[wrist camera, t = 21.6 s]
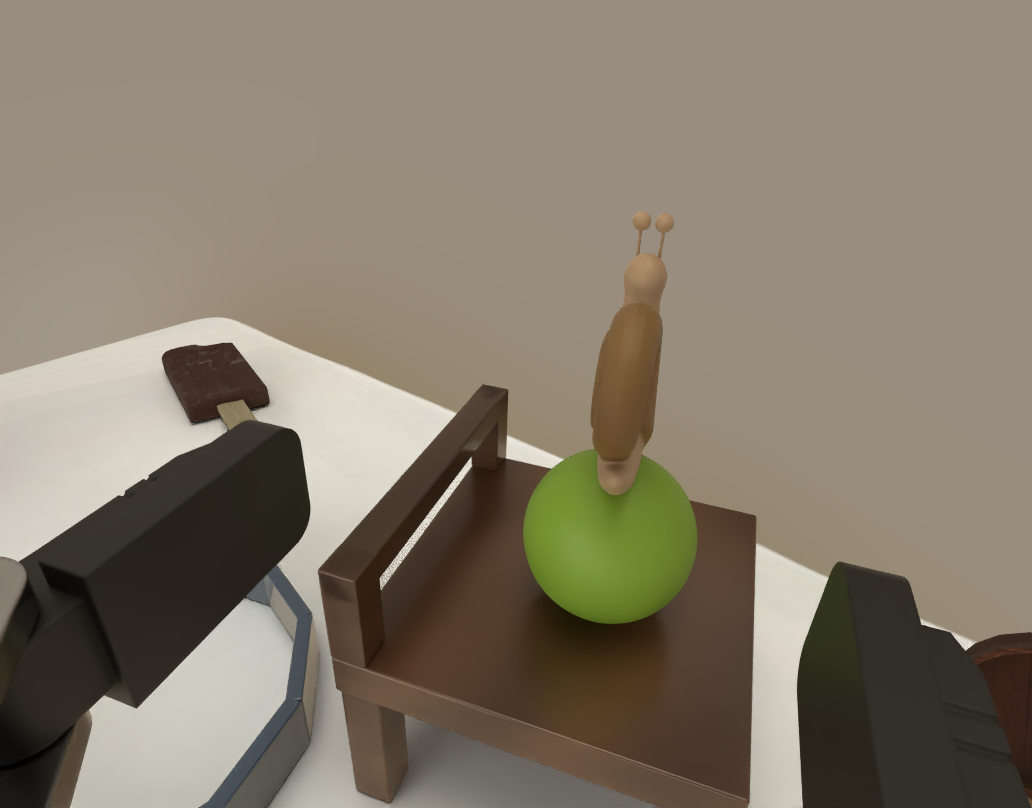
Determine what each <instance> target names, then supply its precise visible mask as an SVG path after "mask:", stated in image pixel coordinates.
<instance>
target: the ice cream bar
mask: <svg viewBox="0 0 1032 808" xmlns="http://www.w3.org/2000/svg"><path fill="white" fill-rule="evenodd" d="M162 362H163V366H164V370H165V372H166V374H167V376H168V378H169V380H170V382H171V384H172V386H173V388H174V390H175V392H176V394H177V396H178V398H179V400H180V402H181V404H182V406H183V407H184V409H185V411H186V413H187V415H188V417H189V419H190V421H191V423H195V422H199V421H203V420H207V419H211V418H215V417H219V416H221V417H222V418H223V420H224V422H225V423H226V425H227V427H228V428H229V430H230V429H232V428H233V427H235V426H236V425H238V424H239V423H241V422H243V421H246V420H255V421H257V420H256V418H255V417H254V415H253V414H252V412H251V411H250V409H251V408H255V407H259V406H263V405H267V404H269V402H270V401H269V396H268V390H267V387H266V386H265V385H264V383H263V382H262V381H261V379H260V378H259V377H258V376H257V374H256V373H255V372H254V370H253V369H252V368H251V367H250V365H249V364H248V363H247V361H246V360H245V359H244V357H243V356H242V355H241V354H240V352H239V351H238V350H237V348H236V347H235V346H234V345H233V343H220V344H215V345H208V346H198V345H189V346H184V347H179V348H175V349H171V350H169V351H166V352H165V353H164V354H163V356H162Z"/></svg>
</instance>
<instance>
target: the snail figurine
mask: <svg viewBox="0 0 1032 808" xmlns="http://www.w3.org/2000/svg"><path fill="white" fill-rule="evenodd" d="M650 224H651V217H650V215H649V214H648V213H646V212H639V213H637V214H636V215H635V216H634V218H633V225H634V227H635V228H636V229H637V230H639V236H638V244H637V252H636V257H635V258H634V259H633V260H632V261H631V262H630V263H629V264H628V266H627V268H626V271H625V275H624V287H625V298H624V303H623V307H622V308H621V309H620V310H619V311H618V312H617V313H616V315H615V316H614V319H613V321H612V324H611V327H610V330H609V331H608V332H607V333H606V335H605V337H604V340H603V343H602V347H601V350H600V355H599V360H598V365H597V371H596V378H595V383H594V390H593V397H592V406H591V426H592V428H593V445H594V448H595V449H591V450H587V451H583V452H580V453H577V454H575V455H573V456H570V457H569V458H567V459H565V460H563V461H562V462H560V463H559V464H557V465H556V466H555V467H554V468H552V469H551V470H550V471H549V472H548V473H547V474H546V475H545V476H544V477H543V479H542V480H541V481H540V483H539V484H538V485H537V487H536V489H535V490H534V492H533V494H532V496H531V498H530V501H529V503H528V506H527V510H526V513H525V518H524V526H523V540H524V548H525V553H526V557H527V561H528V564H529V566H530V569H531V571H532V573H533V575H534V577H535V579H536V580H537V582H538V583H539V585H540V586H541V588H542V589H543V590H544V591H545V593H546V594H547V595H548V596H549V597H550V598H551V599H552V600H553V601H554V602H555V603H557V604H558V605H559V606H560V607H562V608H563V609H565V610H566V611H568V612H570V613H572V614H574V615H576V616H578V617H580V618H583V619H586V620H589V621H593V622H598V623H605V624H621V623H628V622H633V621H637V620H640V619H643V618H645V617H648V616H650V615H652V614H654V613H655V612H657V611H659V610H660V609H662V608H663V607H664V606H666V605H667V604H668V603H669V602H670V601H671V600H672V599H673V598H674V597H675V596H676V595H677V594H678V593H679V591H680V590H681V589H682V587H683V586H684V584H685V583H686V581H687V579H688V577H689V575H690V573H691V570H692V568H693V565H694V561H695V557H696V552H697V525H696V520H695V516H694V512H693V509H692V506H691V504H690V501H689V499H688V497H687V496H686V494H685V492H684V490H683V489H682V487H681V486H680V484H679V483H678V482H677V481H676V479H675V478H674V477H673V476H672V475H671V474H670V473H669V472H668V471H667V470H666V469H664V468H663V467H662V466H660V465H659V464H658V463H656V462H655V461H653V460H651V459H650V458H648V457H646V456H643V455H642V451H643V449H644V447H645V445H646V444H647V442H648V441H649V439H650V438H651V435H652V432H653V427H654V416H655V404H656V394H657V384H658V372H659V363H660V354H661V343H662V332H663V331H662V330H663V327H662V319H661V317H660V315H659V309H660V308H659V307H660V300H661V295H662V293H663V290H664V288H665V284H666V280H667V272H666V268H665V265H664V263H663V262H662V260H661V253H662V247H663V241H664V234H665V233H666V232H669V231H670V230H671V229H672V228H673V226H674V219H673V217H672V216H670V215H669V214H661V215H660V216H659V217H658V218H657V219H656V222H655V225H656V228H657V230H658V231H660V232H661V233H662V235H661V242H660V248H659V253H658V257H657V256H656V255H653V254H649V253H646V254H641V255H639V253H640V243H641V235H642V231H643V230H646V229H647V228H649V226H650Z"/></svg>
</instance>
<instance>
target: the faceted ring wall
mask: <svg viewBox="0 0 1032 808" xmlns="http://www.w3.org/2000/svg"><path fill="white" fill-rule="evenodd" d="M245 598H248V599H251V600H254V601H257V602H260V603H263V604H266V605H269V606H270V607H271V608H272V610H273V611H274V613H275V614H276V616H277V617H278V619H279V620H280V622H281V623H282V625H283V626H284V628H285V629H286V631H287V632H288V634H289V635H290V637H291V638H292V640H293V641H294V645H293V652H292V659H291V666H290V673H289V679H288V686H287V693H286V700H285V701H284V702H283V704H282V705H281V706H280V708H279V709H278V710H277V712H276V713H275V714H274V716H273V717H272V718H271V719H270V721H269V722H268V723H267V725H266V726H265V727H264V729H263V730H262V731H261V733H260V734H259V735H258V737H257V738H256V739H255V741H254V742H253V743H252V745H251V746H250V747H249V749H248V750H247V751H246V752H245V754H244V755H243V756H242V758H241V759H240V760H239V762H238V763H237V764H236V766H235V767H234V768H233V770H232V771H231V772H230V774H229V775H228V776H227V778H226V779H225V780H224V781H223V783H222V784H221V785H220V787H219V788H218V789H217V791H216V792H215V793H214V795H213V796H212V797H211V799H210V800H209V801H208V802H207V803H205V804H203V805H202V806H200V807H199V808H266V807H267V806H268V805H269V803H270V802H271V800H272V799H273V797H274V796H275V794H276V793H277V791H278V790H279V788H280V787H281V785H282V784H283V782H284V781H285V779H286V778H287V776H288V775H289V773H290V772H291V770H292V769H293V767H294V766H295V764H296V763H297V761H298V760H299V758H300V757H301V756H302V754H303V753H304V751H305V750H306V748H307V747H308V745H309V741H310V740H311V732H312V722H313V712H314V702H315V692H316V682H317V672H318V662H319V651H318V645H317V639H316V633H315V627H314V621H313V616H312V612H311V611H310V609H309V608H308V607H307V605H306V604H305V603H304V601H303V600H302V598H301V597H300V596H299V594H298V593H297V592H296V590H295V589H294V587H293V586H292V585H291V583H290V582H289V581H288V579H287V578H286V576H285V575H284V574H283V572H282V571H281V570H280V568H279V567H278V565H276V566H275V567H274V568H273V569H272V570H271V571H270V572H269V573H268V574H267V575H266V576H265V577H264V578H263V579H262V580H261V581H260V582H259V583H258V584H257V585H256V586H255V587H254V588H253V589H252V591H251V592H250V593H249V594H248V595H247V596H246V597H245Z"/></svg>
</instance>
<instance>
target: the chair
mask: <svg viewBox="0 0 1032 808" xmlns="http://www.w3.org/2000/svg"><path fill="white" fill-rule="evenodd" d="M507 408H508V389H504V388H499V387H494V386H488V385H482V386H481V387H480V388H479V389H478V390H477V391H476V392H475V393H474V395H473V396H472V397H471V398H470V400H469V401H468V402H467V403H466V404H465V405H464V406H463V408H462V409H461V410H460V411H459V412H458V413H457V414H456V415H455V417H454V418H453V419H452V420H451V421H450V422H449V423H448V424H447V426H446V427H445V428H444V429H443V430H442V431H441V432H440V433H439V435H438V436H437V437H436V438H435V439H434V440H433V441H432V442H431V444H430V445H429V446H428V447H427V448H426V449H425V450H424V451H423V453H422V454H421V455H420V456H419V457H418V458H417V459H416V461H415V462H414V463H413V464H412V465H411V466H410V467H409V468H408V470H407V471H406V472H405V473H404V474H403V475H402V476H401V477H400V479H399V480H398V481H397V482H396V483H395V484H394V485H393V486H392V488H391V489H390V490H389V491H388V492H387V493H386V494H385V495H384V497H383V498H382V499H381V500H380V501H379V502H378V503H377V504H376V506H375V507H374V508H373V509H372V510H371V511H370V512H369V513H368V515H367V516H366V517H365V518H364V519H363V520H362V521H361V523H360V524H359V525H358V526H357V527H356V528H355V529H354V530H353V532H352V533H351V534H350V535H349V536H348V537H347V538H346V539H345V541H344V542H343V543H342V544H341V545H340V546H339V547H338V548H337V549H336V550H335V551H334V552H333V554H332V555H331V556H330V557H329V558H328V559H327V560H326V561H325V563H324V564H323V565H322V566H321V567H320V568H319V570H318V576H319V582H320V589H321V595H322V602H323V608H324V615H325V621H326V627H327V634H328V640H329V647H330V653H331V656H332V663H333V670H334V676H335V683H336V688H337V689H338V690H340V691H342V697H343V704H344V710H345V717H346V724H347V730H348V737H349V744H350V750H351V757H352V764H353V770H354V777H355V784H356V789H357V790H358V791H361V792H363V793H365V794H368V795H370V796H373V797H375V798H378V799H380V800H383V801H385V802H387V803H390V802H391V801H392V800H393V798H394V796H395V794H396V792H397V790H398V788H399V786H400V784H401V782H402V780H403V778H404V776H405V774H406V772H407V770H408V755H407V742H406V729H405V716H404V714H406V715H408V716H411V717H414V718H417V719H419V720H422V721H425V722H428V723H430V724H433V725H436V726H439V727H441V728H444V729H447V730H450V731H453V732H455V733H458V734H461V735H464V736H466V737H469V738H472V739H475V740H477V741H480V742H483V743H486V744H488V745H491V746H494V747H497V748H499V749H502V750H505V751H508V752H510V753H513V754H516V755H519V756H521V757H524V758H527V759H530V760H532V761H535V762H538V763H541V764H543V765H546V766H549V767H552V768H554V769H557V770H560V771H563V772H565V773H568V774H571V775H574V776H576V777H579V778H582V779H585V780H587V781H590V782H593V783H596V784H598V785H601V786H604V787H607V788H609V789H612V790H615V791H618V792H620V793H623V794H626V795H629V796H631V797H634V798H637V799H640V800H642V801H645V802H648V803H651V804H653V805H656V806H659V807H662V808H748V805H749V803H750V766H751V724H752V682H753V640H754V599H755V557H756V516H755V515H751V514H747V513H742V512H738V511H734V510H729V509H725V508H720V507H716V506H711V505H707V504H703V503H699V502H694V501H690V500H689V501H690V504H691V506H692V509H693V512H694V516H695V520H696V525H697V552H696V557H695V561H694V565H693V568H692V570H691V573H690V575H689V577H688V579H687V581H686V583H685V584H684V586H683V587H682V589H681V590H680V591H679V593H678V594H677V595H676V596H675V597H674V598H673V599H672V600H671V601H670V602H669V603H668V604H667V605H666V606H664V607H663V608H662V609H660V610H659V611H657V612H655V613H654V614H652V615H650V616H648V617H645V618H643V619H640V620H637V621H633V622H628V623H621V624H605V623H598V622H593V621H589V620H586V619H583V618H580V617H578V616H576V615H574V614H572V613H570V612H568V611H566V610H565V609H563V608H562V607H560V606H559V605H558V604H557V603H555V602H554V601H553V600H552V599H551V598H550V597H549V596H548V595H547V594H546V593H545V591H544V590H543V589H542V588H541V586H540V585H539V583H538V582H537V580H536V579H535V577H534V575H533V573H532V571H531V569H530V566H529V564H528V561H527V557H526V553H525V548H524V540H523V526H524V518H525V513H526V510H527V506H528V503H529V501H530V498H531V496H532V494H533V492H534V490H535V489H536V487H537V485H538V484H539V483H540V481H541V480H542V479H543V477H544V476H545V475H546V474H547V473H548V472H549V471H550V470H551V469H550V468H546V467H541V466H537V465H532V464H528V463H524V462H519V461H515V460H511V459H506V440H507V410H508V409H507ZM471 456H472V467H471V468H470V470H469V471H468V473H467V474H466V475H465V477H464V478H463V479H462V481H461V482H460V483H459V485H458V486H457V488H456V489H455V490H454V492H453V493H452V494H451V496H450V497H449V498H448V500H447V501H446V503H445V504H444V505H443V507H442V508H441V509H440V511H439V512H438V513H437V515H436V516H435V518H434V519H433V520H432V522H431V523H430V524H429V526H428V527H427V528H426V530H425V531H424V533H423V534H422V535H421V537H420V538H419V539H418V541H417V542H416V543H415V545H414V546H413V548H412V549H411V550H410V552H409V553H408V554H407V556H406V557H405V558H404V560H403V561H402V563H401V564H400V565H399V567H398V568H397V569H396V571H395V572H394V573H393V575H392V576H391V578H390V579H389V580H388V582H387V583H386V584H385V586H384V587H383V588H382V590H380V579H379V578H380V577H381V576H382V574H383V573H384V572H385V570H386V569H387V568H388V566H389V565H390V564H391V562H392V561H393V560H394V558H395V557H396V556H397V554H398V553H399V552H400V551H401V549H402V548H403V547H404V545H405V544H406V543H407V541H408V540H409V539H410V537H411V536H412V535H413V533H414V532H415V531H416V529H417V528H418V527H419V525H420V524H421V523H422V521H423V520H424V519H425V517H426V516H427V515H428V513H429V512H430V511H431V509H432V508H433V507H434V505H435V504H436V503H437V501H438V500H439V499H440V497H441V496H442V495H443V493H444V492H445V491H446V489H447V488H448V487H449V486H450V484H451V483H452V482H453V480H454V479H455V478H456V476H457V475H458V474H459V472H460V471H461V470H462V468H463V467H464V466H465V464H466V463H467V462H468V460H469V459H470V458H471Z"/></svg>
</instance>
